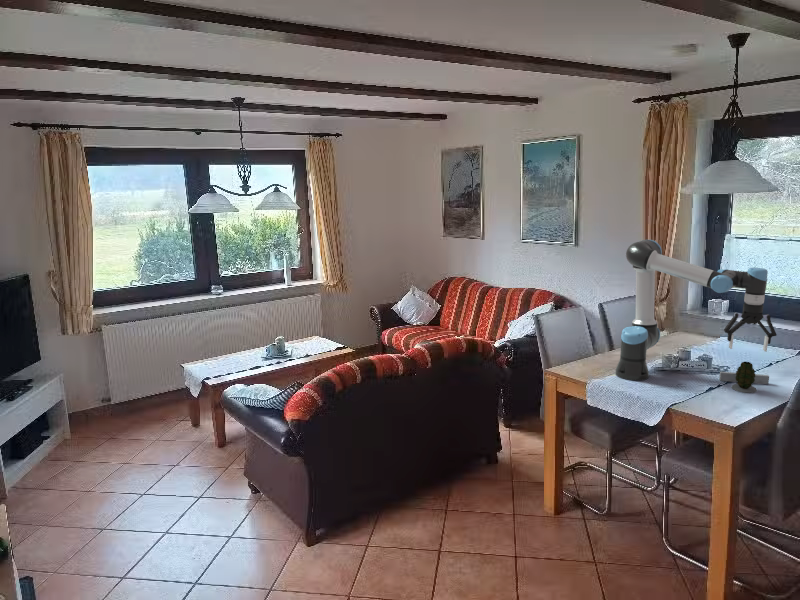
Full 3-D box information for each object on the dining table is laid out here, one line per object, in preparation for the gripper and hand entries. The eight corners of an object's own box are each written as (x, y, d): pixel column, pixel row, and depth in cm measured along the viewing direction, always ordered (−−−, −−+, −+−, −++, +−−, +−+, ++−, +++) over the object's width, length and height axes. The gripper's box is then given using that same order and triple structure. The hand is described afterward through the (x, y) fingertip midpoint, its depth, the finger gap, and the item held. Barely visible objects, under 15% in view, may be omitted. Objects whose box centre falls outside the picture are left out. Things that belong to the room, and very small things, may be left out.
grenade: (756, 391, 259) (759, 365, 256) (737, 390, 260) (740, 365, 258) (750, 385, 266) (753, 360, 264) (731, 384, 268) (734, 359, 265)
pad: (734, 392, 260) (734, 390, 260) (729, 384, 270) (729, 383, 269) (759, 394, 257) (759, 392, 257) (753, 386, 267) (753, 385, 266)
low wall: (719, 380, 274) (720, 372, 274) (719, 379, 276) (720, 371, 275) (768, 384, 268) (769, 376, 268) (767, 383, 270) (768, 375, 269)
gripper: (723, 303, 255) (718, 349, 260) (789, 306, 248) (782, 354, 253) (720, 299, 262) (714, 344, 267) (783, 303, 255) (776, 349, 259)
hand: (747, 349), depth 260 cm, fingers open, 13 cm apart
